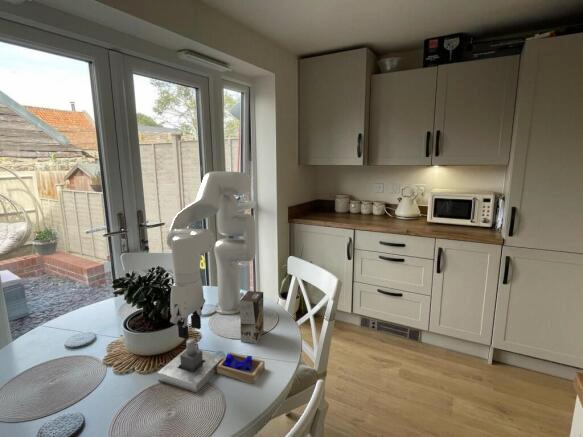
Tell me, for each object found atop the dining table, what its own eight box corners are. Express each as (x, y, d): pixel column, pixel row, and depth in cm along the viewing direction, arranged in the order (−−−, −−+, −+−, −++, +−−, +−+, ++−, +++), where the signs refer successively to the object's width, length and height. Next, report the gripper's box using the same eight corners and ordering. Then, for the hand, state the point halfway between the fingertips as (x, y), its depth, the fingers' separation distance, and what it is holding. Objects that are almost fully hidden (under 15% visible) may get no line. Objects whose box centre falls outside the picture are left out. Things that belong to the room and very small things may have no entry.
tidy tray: (230, 359, 106) (230, 352, 106) (264, 368, 102) (264, 361, 101) (217, 373, 99) (216, 365, 99) (253, 383, 95) (253, 376, 94)
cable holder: (224, 371, 100) (224, 360, 100) (228, 364, 104) (227, 353, 103) (249, 374, 99) (249, 363, 98) (252, 367, 103) (252, 356, 102)
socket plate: (188, 353, 109) (188, 345, 108) (223, 363, 104) (223, 354, 103) (157, 379, 96) (157, 370, 95) (196, 392, 91) (196, 382, 91)
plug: (191, 364, 103) (189, 335, 101) (202, 367, 101) (201, 339, 99) (181, 372, 99) (179, 343, 97) (193, 376, 97) (191, 346, 95)
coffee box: (257, 343, 115) (256, 302, 112) (240, 341, 116) (239, 300, 113) (264, 330, 124) (264, 291, 121) (248, 328, 125) (247, 289, 122)
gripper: (195, 265, 103) (197, 317, 107) (155, 284, 88) (159, 345, 91) (214, 268, 101) (216, 321, 104) (177, 289, 85) (181, 351, 88)
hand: (190, 332), depth 97 cm, fingers open, 5 cm apart
